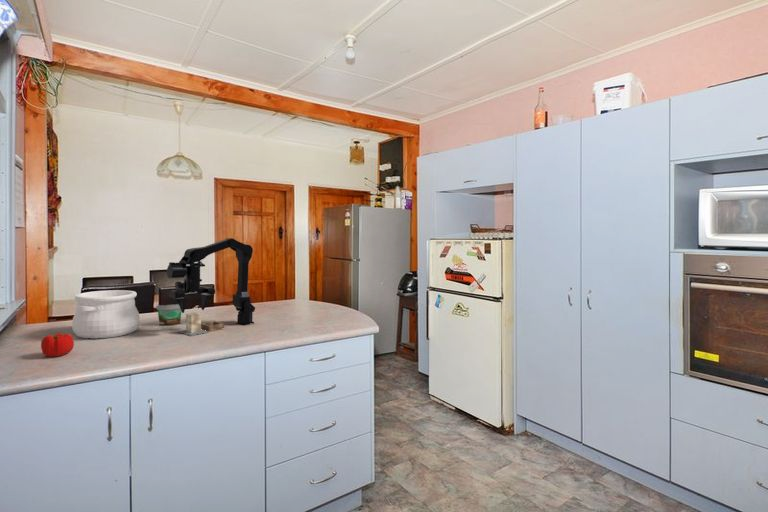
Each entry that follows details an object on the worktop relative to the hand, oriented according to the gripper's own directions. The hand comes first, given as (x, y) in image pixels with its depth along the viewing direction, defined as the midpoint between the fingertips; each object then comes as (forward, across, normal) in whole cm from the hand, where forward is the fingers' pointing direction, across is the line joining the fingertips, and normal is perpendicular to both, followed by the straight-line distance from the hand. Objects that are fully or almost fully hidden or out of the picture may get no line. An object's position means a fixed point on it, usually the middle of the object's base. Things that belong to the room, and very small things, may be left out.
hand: (193, 311), depth 180 cm
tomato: (+10, +48, -6) cm, 49 cm away
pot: (+10, +24, -27) cm, 37 cm away
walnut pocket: (+10, -9, 0) cm, 13 cm away
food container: (+10, -2, -22) cm, 24 cm away
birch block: (+9, 0, 0) cm, 9 cm away
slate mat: (+10, 0, 0) cm, 10 cm away
